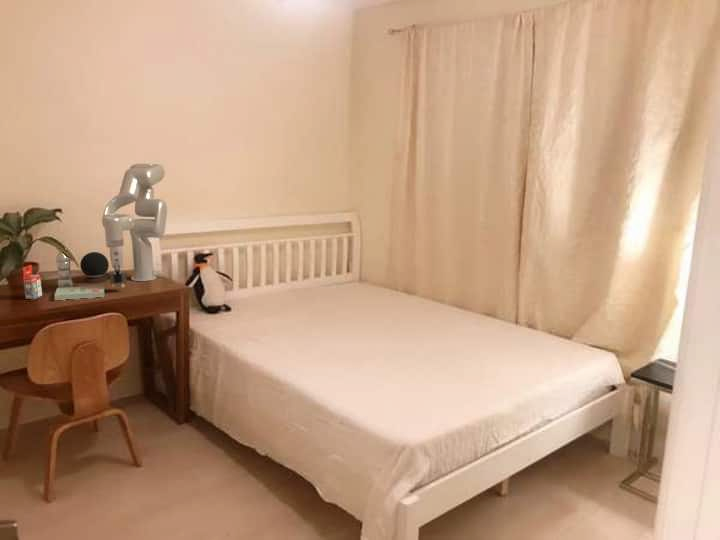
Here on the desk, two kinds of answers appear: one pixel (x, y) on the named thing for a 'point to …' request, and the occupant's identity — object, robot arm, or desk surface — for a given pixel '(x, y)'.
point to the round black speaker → (94, 267)
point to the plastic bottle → (63, 270)
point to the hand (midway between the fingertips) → (118, 280)
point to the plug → (118, 282)
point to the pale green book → (79, 292)
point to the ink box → (31, 284)
